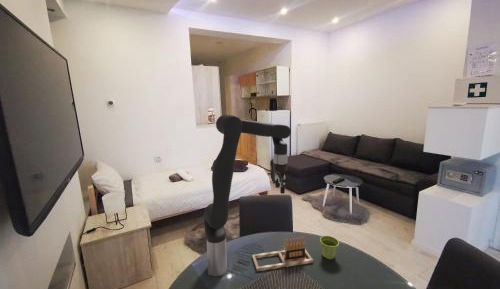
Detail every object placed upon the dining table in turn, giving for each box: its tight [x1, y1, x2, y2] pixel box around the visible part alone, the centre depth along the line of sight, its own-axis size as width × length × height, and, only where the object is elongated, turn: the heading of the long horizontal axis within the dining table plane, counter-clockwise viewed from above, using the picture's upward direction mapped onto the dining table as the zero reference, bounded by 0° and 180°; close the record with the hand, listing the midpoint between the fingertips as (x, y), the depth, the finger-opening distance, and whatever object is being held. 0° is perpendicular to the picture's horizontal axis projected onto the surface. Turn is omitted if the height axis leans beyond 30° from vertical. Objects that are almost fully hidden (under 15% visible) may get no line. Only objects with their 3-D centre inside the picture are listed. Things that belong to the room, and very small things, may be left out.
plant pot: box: [319, 235, 340, 260], centre depth 122 cm, size 9×9×9 cm
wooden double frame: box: [251, 248, 314, 272], centre depth 119 cm, size 29×10×2 cm, turn 102°
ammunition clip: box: [284, 235, 306, 260], centre depth 120 cm, size 11×2×12 cm, turn 102°
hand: (279, 190), depth 128 cm, fingers open, 8 cm apart
